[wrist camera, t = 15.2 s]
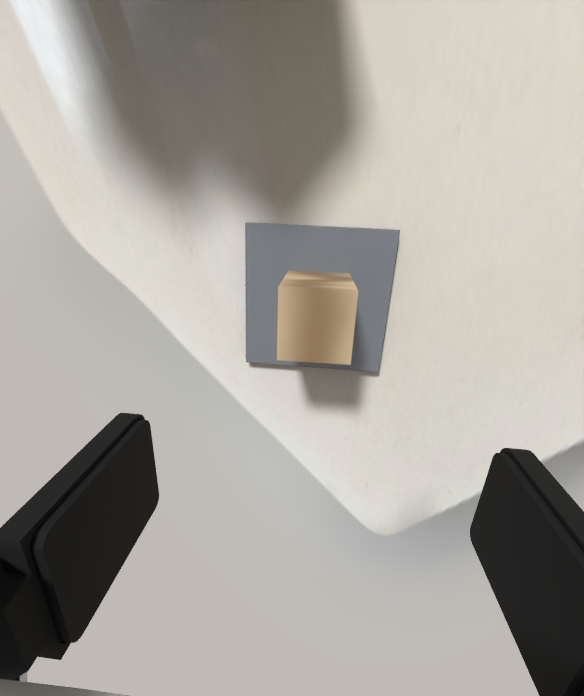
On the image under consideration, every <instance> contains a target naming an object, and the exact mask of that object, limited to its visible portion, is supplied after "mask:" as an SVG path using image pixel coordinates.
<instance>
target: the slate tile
mask: <svg viewBox="0 0 584 696" xmlns="http://www.w3.org/2000/svg"><path fill="white" fill-rule="evenodd" d="M399 233H400V230H390V229H370V228H350V227H330V226H310V225H289V224H269V223H249V222H247V223H245V237H246V362H251V363H265V364H278V365H292V366H305V367H319V368H332V369H346V370H359V371H373V372H379V366H380V360H381V353H382V346H383V340H384V333H385V326H386V320H387V313H388V306H389V300H390V293H391V287H392V280H393V273H394V267H395V260H396V253H397V247H398V240H399ZM288 271H308V272H330V273H350V275H351V277H352V279H353V281H354V283H355V285H356V287H357V289H358V300H357V309H356V319H355V328H354V338H353V347H352V357H351V365H346V364H330V363H314V362H299V361H283V360H277V325H278V287H279V285H280V283H281V282H282V280H283V279H284V277H285V275H286V274H287V272H288Z"/></svg>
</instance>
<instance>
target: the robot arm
mask: <svg viewBox="0 0 584 696" xmlns="http://www.w3.org/2000/svg"><path fill="white" fill-rule="evenodd" d="M158 499H159V491H158V483H157V475H156V468H155V460H154V452H153V444H152V436H151V429H150V423H149V421H147V420H145V419H144V417H143V415H140V414H128V413H120V414H118V415H117V416H116V417H115V418H114V419H113V420H112V421H111V422H110V423H109V424H108V425H106V426H105V427H104V429H102V430H101V431H100V432H99V433H98V434H97V435H96V436H95V437H94V438H93V439H92V440H91V441H90V442H89V443H88V444H87V445H86V446H85V447H84V448H83V449H82V450H81V451H80V452H79V453H77V454H76V455H75V456H74V457H73V458H72V459H71V460H70V461H69V462H68V463H67V464H66V465H65V466H64V467H63V468H62V469H61V470H60V471H59V472H58V473H57V474H56V475H55V476H54V477H53V478H52V479H51V480H50V481H49V482H48V483H46V484H45V486H43V487H42V488H41V489H40V490H39V491H38V492H37V493H36V494H35V495H34V496H33V497H32V498H31V499H30V500H29V501H28V502H27V503H26V504H25V505H24V506H23V507H22V508H20V510H18V511H17V512H16V513H15V514H14V515H13V516H12V517H11V518H10V519H9V520H8V521H7V522H6V523H5V524H4V525H3V526H2V527H1V528H0V696H128V695H120V694H114V693H107V692H100V691H93V690H87V689H79V688H71V687H62V686H54V685H45V684H38V683H37V684H36V683H29V682H27V671H28V670H29V669H30V667H31V666H32V664H33V663H34V661H35V659H36V658H37V657H44V658H51V659H58V660H61V659H62V657H63V655H64V654H65V652H66V650H67V648H68V647H69V645H70V643H71V642H72V643H73V642H76V641H78V639H79V638H80V637H81V636H82V634H83V633H84V631H85V629H86V628H87V626H88V624H89V622H90V621H91V619H92V617H93V616H94V614H95V612H96V610H97V609H98V607H99V605H100V603H101V602H102V600H103V598H104V597H105V595H106V593H107V591H108V590H109V588H110V586H111V584H112V583H113V581H114V579H115V577H116V576H117V574H118V572H119V570H120V569H121V567H122V565H123V564H124V562H125V560H126V559H127V557H128V555H129V553H130V552H131V550H132V548H133V546H134V545H135V543H136V541H137V539H138V538H139V536H140V534H141V533H142V531H143V529H144V527H145V526H146V524H147V522H148V520H149V519H150V517H151V515H152V514H153V512H154V510H155V508H156V506H157V503H158ZM470 537H471V541H472V544H473V546H474V549H475V551H476V553H477V556H478V558H479V560H480V562H481V564H482V567H483V569H484V571H485V573H486V576H487V578H488V580H489V582H490V585H491V587H492V589H493V592H494V594H495V596H496V598H497V601H498V603H499V605H500V607H501V610H502V612H503V614H504V617H505V619H506V621H507V623H508V625H509V628H510V630H511V632H512V635H513V637H514V639H515V641H516V643H517V646H518V648H519V650H520V653H521V655H522V657H523V659H524V662H525V664H526V666H527V668H528V671H529V673H530V675H531V677H532V680H533V682H534V684H535V686H536V689H537V691H538V693H539V695H540V696H584V512H583V511H582V509H581V508H580V507H579V506H578V505H577V504H576V502H575V501H574V500H573V499H572V498H571V497H570V495H569V494H568V493H567V492H566V491H565V490H564V489H563V487H562V486H561V485H560V484H559V483H558V482H557V480H556V479H555V478H554V477H553V476H552V475H551V473H550V472H549V471H548V470H547V469H546V468H545V466H544V465H543V464H542V463H541V462H540V461H539V460H538V458H537V457H536V456H535V455H534V454H533V453H532V452H531V451H529V450H522V449H511V448H504V449H502V450H501V452H500V453H496V454H495V455H494V456H493V459H492V462H491V465H490V468H489V471H488V475H487V478H486V481H485V484H484V487H483V490H482V493H481V496H480V500H479V503H478V506H477V509H476V512H475V515H474V518H473V522H472V525H471V528H470Z"/></svg>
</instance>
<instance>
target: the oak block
mask: <svg viewBox="0 0 584 696" xmlns="http://www.w3.org/2000/svg"><path fill="white" fill-rule="evenodd" d="M357 300H358V289H357V287H356V285H355V283H354V281H353V279H352V277H351V275H350V273H330V272H308V271H288V272H287V274H286V275H285V277H284V279H283V280H282V282H281V283H280V285H279V287H278V325H277V360H283V361H299V362H314V363H330V364H346V365H351V357H352V347H353V338H354V328H355V319H356V309H357Z"/></svg>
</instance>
